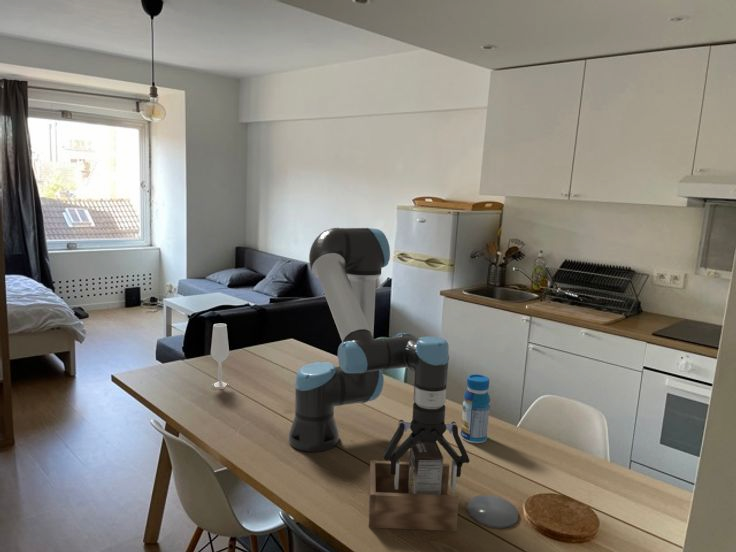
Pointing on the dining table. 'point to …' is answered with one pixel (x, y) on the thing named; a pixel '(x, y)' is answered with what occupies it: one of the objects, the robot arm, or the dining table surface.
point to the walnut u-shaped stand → (408, 501)
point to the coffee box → (425, 469)
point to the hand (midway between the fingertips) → (424, 487)
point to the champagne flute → (219, 349)
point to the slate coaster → (492, 511)
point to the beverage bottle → (476, 409)
